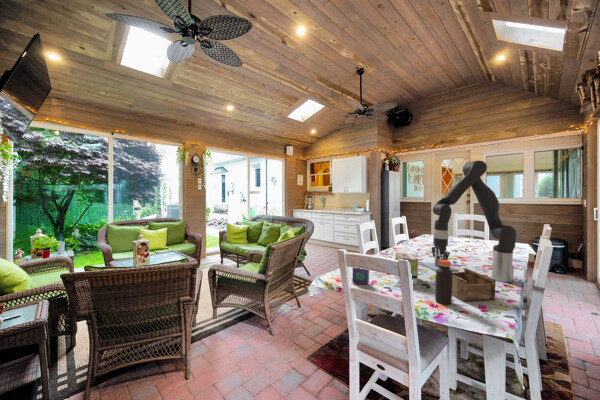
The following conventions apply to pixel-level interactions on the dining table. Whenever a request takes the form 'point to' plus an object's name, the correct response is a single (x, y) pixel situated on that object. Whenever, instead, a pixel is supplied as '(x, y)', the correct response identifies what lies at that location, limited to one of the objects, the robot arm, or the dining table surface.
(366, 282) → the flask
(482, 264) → the dining table surface
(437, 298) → the bottle
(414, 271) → the tea box
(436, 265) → the cover plate
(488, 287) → the walnut box
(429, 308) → the dining table surface
